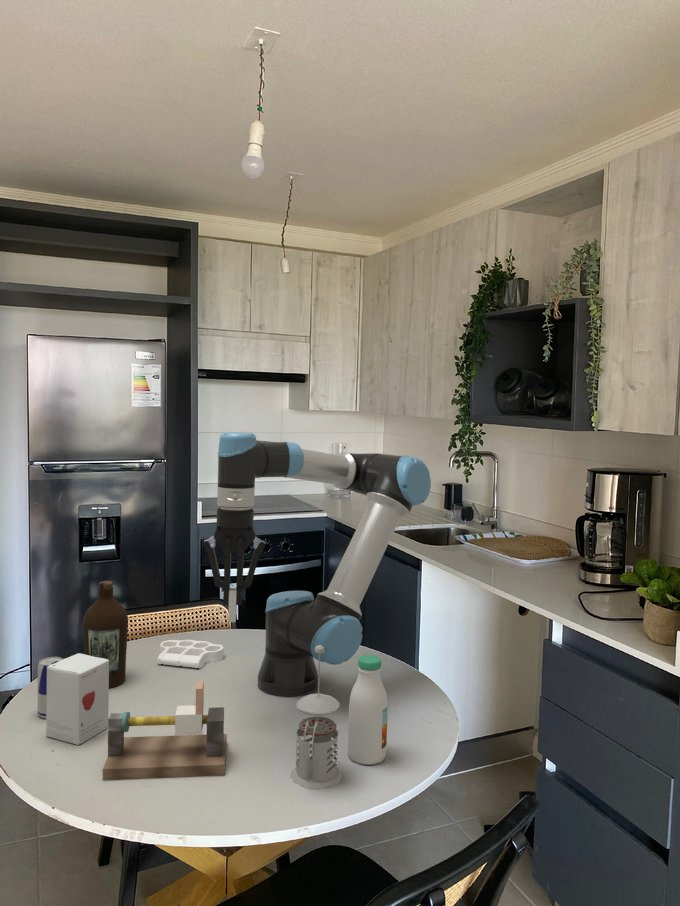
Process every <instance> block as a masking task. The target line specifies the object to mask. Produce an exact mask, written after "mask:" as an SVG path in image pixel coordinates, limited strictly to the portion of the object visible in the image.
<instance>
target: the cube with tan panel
mask: <svg viewBox="0 0 680 906" xmlns="http://www.w3.org/2000/svg"><path fill="white" fill-rule="evenodd" d="M204 682H205V680H197V682H196V687H195V705H177V707H176V712H175V715H174V716H175V725H174V736H178V735H203V730H204V729H203V728H204V724H202V715H204V703H205V701H204V699H205V697H204V694H205V693H204V691H205V686H204V685H205V683H204Z"/></svg>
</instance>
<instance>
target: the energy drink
mask: <svg viewBox="0 0 680 906" xmlns="http://www.w3.org/2000/svg"><path fill="white" fill-rule="evenodd" d="M63 659H64V658H63V657H60V656H49V657H44V658H42V659H39V661H38V665H37V716H38V717H39V718H40V717H41V719H43V718H44V719H45V720H46V705H47V666H50V665H52V664H54V663H57V662H59V661H61V660H63Z"/></svg>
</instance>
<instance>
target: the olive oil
mask: <svg viewBox="0 0 680 906" xmlns="http://www.w3.org/2000/svg"><path fill="white" fill-rule="evenodd" d="M90 605H91V604H90ZM128 630H129V616H128V613H127V610H126V608H125V607H124V606H123V605H122V604H121V603H120V602H119V601H118V600H117V599H115V597H114V587H113V581H112V580H104V581H103V580H102V581H100V582H99V583H98V597H97V599H96V600H95V601H94V602H93V603H92V605H91V606H89V608H88V609H87V610H86V611H85V613H84V615H83V617H82V637H83V638H82V639H83V654H85V655H89V656H93V657H98V658H104V659H108V660H109V689H114V688H116V687H118V686H120V685H123V684H124V682H126V670H127V667H126V666H127V646H128V645H127V644H128Z"/></svg>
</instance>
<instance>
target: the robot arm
mask: <svg viewBox="0 0 680 906" xmlns="http://www.w3.org/2000/svg"><path fill="white" fill-rule="evenodd" d="M217 460H218V461H217V463H218V464H217V497H216V505H217V506H218V508H217V509H216V528H215V531H214V532H213V535H212V536H210V538H206V539H204V541H203V543H202V546H203V548H204V549H205V551H206V553H207V556H208V559H209V565H210V567H211V568H210V569H211V573H212V578H213V582H214V583H213V584H214V586H215V587H216V588H219V589H220V588H221V590H223V594H222V595H223V599H222V601H223V602H222V603H223V605H224V606H228V612H227V613H228V615H227V618H228V619H227V620H228V621H227V622H228V623H236V620H237V606H242V603H243V591H244V590H245V589H246V588H250V587H251V586H252V583H253V579H254V576H255V572H256V569H257V565H258V561H259V558H260V555H261V553H262V552H263V549H265V547H266V541H265V540H263V539H261V538H259V537H257V536H256V532H255V530H254V518H255V517H254V514H255V512H254V511H255V510H254V509H253V508H252V507H253V506H255V489H256V488H255V482H256V479H260V478H287V479H294V480H302V481H307V482H316V483H323V484H329V485H333V487H335V488H336V489H339V490H344V491H345V490H347V491H349V492H354V493H356V494H360V495H364V496H366V500H367V502H368V505H367V506H366V509H365V511H364V512H363V515H362V517H361V518H360V519H361V520H360V521H359V524H357V525H358V526H357V527H356V529H355V531H354V534H353V535H352V538H351V540H350V541H349V544H348V546H347V548H346V550H345V552H344V554H343V556H342V559H341V560H340V562H339V564H338V566H337V567H336V568H337V569H336V570H335V572H334V575H333V576H332V579H331V580H330V583H329V585H328V587H327V589H326V590H324V591H322V592H319V593H317V595H316V597H314V593H312V592H311V591H307V590H287V591H281V592H277V593H273V594H270V595H269V597H268V598H267V600H266V607H265V611H264V613H265V652H264V657H263V659H262V662H261V665H260V667H259V670H258V674H257V687H258V688H259V690H261V691H263V692H264V693H266V694H269V695H273V696H278V697H297V696H301V695H302V696H303V695H308V694H309V693H311V692H313V691H315V690H316V689H318V676H319V671H318V669H317V665H316V663H315V660H316V661H318V662H319V653H316V652H315V647H316V646H317V645H322V646H323V647H324V649H325V651H324V653H320V663H326V664H329V665H335V666H336V665H341V664H342V663H344V662H347V661H349V660H350V659H351V658H352V657H353V656H355V654H356V653H357V651H358V650H359V648H360V646H361V643H362V641H363V625H362V624H361V622H360V620H361V619H362V615H363V614H362V610H361V606H360V605H361V603H362V601H363V599H364V597H365V596H366V592H367V591H368V588H369V586H370V584H371V582H372V580H373V578H374V576H375V573H376V572H377V570H378V567H379V565H380V562H381V560H382V558H383V556H384V554H385V552H386V550H387V548H388V545H389V543H390V541H391V540H392V536H393V535H394V532H395V530H396V529H397V527H398V524H399V522H400V520H401V519H403V518H406V517H408V516H409V515H410V512H411V510H412V508H413V507H414V506H418V505H422V503H424V502H425V501H426V500H427V499H428V498H429V495H430V493H431V487H432V486H431V485H432V484H431V483H432V482H431V481H432V480H431V479H432V478H431V475H430V474H431V473H430V470H429V468H428V465H426V463H425V462H424V461H423V460H422V459H421V458H418V457H413V456H409V455H394V454H386V453H378V452H377V453H375V452H373V453H371V452H370V453H369V452H368V453H355V452H354V453H351V452H346V451H345V452H344V451H343V452H340V453H338V454H333V453H329V452H328V453H327V452H322V451H316V450H310V449H303V448H302V447H301V445H299V444H298V443H296V442H289V441H266V440H259V439H257V436H256V434H255V433H253V432H251V433H250V432H234V431H233V432H232V431H226V432H223V433H222V434H220V436H219V442H218V451H217ZM252 542H253V546H252V547H253V549H254V550H253V554H252V558H251V560H250V565H249V567H248V572H247V575H246V578H245V580H244V554H245V553H244V552H246V551H247V550H248V548H249V547H250V545H251V544H252ZM216 543H217V544H218V545H219V547H220V548H221V550H222V551H223V552H224V554H223V555H224V557H223V558H224V562H223V563H224V564H223V580H222V578H221V573H220V568H219V563H218V559H217V555H216V550H215V547H216ZM232 553H236V582H235V583H236V587H231V573H232V571H231V570H232V566H231V565H232ZM314 659H315V660H314Z"/></svg>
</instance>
